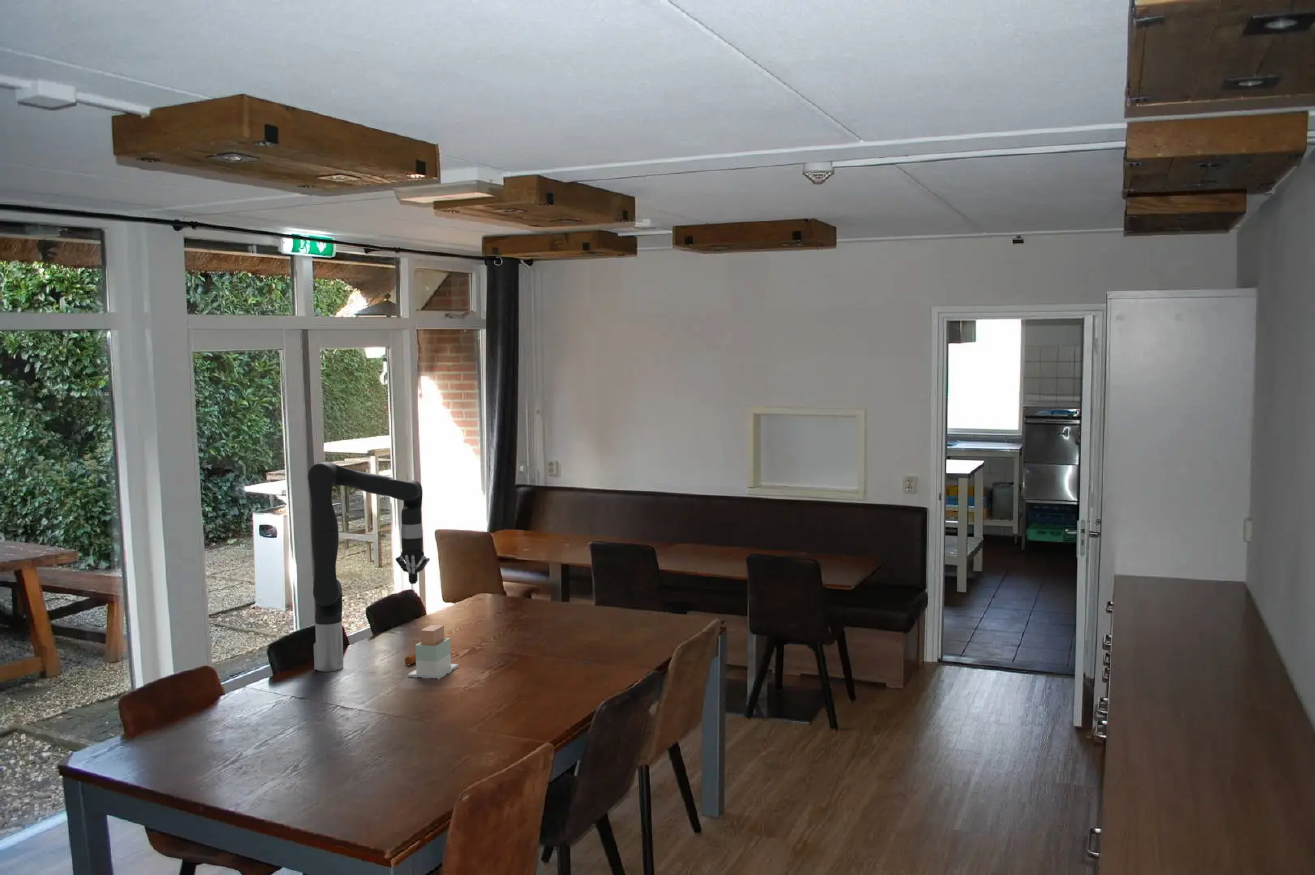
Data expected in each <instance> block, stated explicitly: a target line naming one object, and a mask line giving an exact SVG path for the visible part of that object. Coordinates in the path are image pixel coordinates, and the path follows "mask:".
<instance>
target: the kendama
mask: <svg viewBox="0 0 1315 875" xmlns="http://www.w3.org/2000/svg"><path fill="white" fill-rule="evenodd" d="M404 662H405V664H406V665H407V664H412V665H413V664H414V663H416V653H415V654H412V655H409V656H406V657H405V659H404Z"/></svg>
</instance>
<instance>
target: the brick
mask: <svg viewBox="0 0 1315 875" xmlns="http://www.w3.org/2000/svg"><path fill="white" fill-rule="evenodd" d="M444 638H445V625H442V624H429V625H428V626H426V627H424V628H423V629H421V630H420V642H421V645H431V646H436V645H437V644H439V643H441V642H443V641H444Z"/></svg>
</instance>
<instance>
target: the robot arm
mask: <svg viewBox="0 0 1315 875" xmlns="http://www.w3.org/2000/svg"><path fill="white" fill-rule="evenodd" d="M307 480H308V487H309V495H310V501H311V507H310V510H311V512H310V513H311V514H310V515H311V516H310V517H311V531H310V532H311V543H312V545H311V546H312V555H313V556H312V557H313V566H314V575H313V576H314V577H313V579H314V580H313V587H312V588H313V589H312V595H313V598H314V600H315V615H314V623H315V624H314V625H315V642H314V643H313V657H314V658H313V659H314V660H313V661H314V662H313V664H314V665H313V666H314V670H317V671H319V672H327V673H328V672H335V671H339V670H341V669H344V649H343V648H344V642H343V639H344V638H343V616H342V615H343V592H342V591H343V588H342V584H341V582H340V580H339V579H338V578H337V558H338V552H339V540H340V539H339V538H340V535H339V522H338V519H337V515H336V512H335V508H334V506H333V505H334V504H333V495H332V494H333V486H340V487H341V486H342V487H350V488H354V489H357V490H359V491H363V492H365V493H369V494H373V495H378V496H382V497H383V496H384V497H390V498H393V499H396V500H399V501H403V507H402V509H401V514H400V515H401V518H400V519H401V520H400V521H401V527H400V538H401V539H400V540H401V541H400V542H401V543H400V544H401V552H400V555H399V556H398V557H396V558H395V561H396V563H397V564H398V565H399V567H400V568H401V570H402V571H403V572H405V573H407V574H408V582H409V584H410V585H411V584H412V585H415V584H417V583H418V581H419V580H418V579H419V577H418V574H419V573H420V572H422V571H423V570H424V569H425V568H426V566H427V565H428V563H429V562H430V558H429V557H427V556H425V552H424V551H423V550H424V540H423V537H424V535H423V533H424V532H423V524H422V521H423V520H422V504H423V494H424V493H423V486H422V484H421V483H420V482H419V481H417V480H416V479H408V480H407V481H405V480H399V479H395V478H393V477H391V476H388V475H381V474H376V473H369V472H364V471H358V470H355V469H350V468H347V467H344V466H342V465H339V464H335V463H333V462H330V461H321V462H318V463H315V464H313V465H312V466H311V467H310V469H309V470H308V475H307Z"/></svg>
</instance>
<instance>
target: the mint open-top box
mask: <svg viewBox="0 0 1315 875" xmlns="http://www.w3.org/2000/svg"><path fill="white" fill-rule="evenodd" d="M414 647H415V654H416V662H415V669H414V670H413V671H411V672H409V673H408V678H417V677H422V678H421V679H430V678H434V679H435V678H437V679H435V680H441V679H442V678H443V677H445V676H446V674H447V673H448V674H449V673H451V672H453V671H454V670H456V669H457V668H459V663H451V662H452V659H451V658H452V657H451V656H452V655H451V638H450V637H444V641H443V642H441V643H439V644H437V645H436V646H431V645H421V641H420V642H418V643H416V644H415V646H414ZM453 669H454V670H453ZM452 670H453V671H452ZM448 674H447V675H448ZM441 677H442V678H441ZM440 678H441V679H440ZM434 679H433V680H434Z"/></svg>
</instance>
